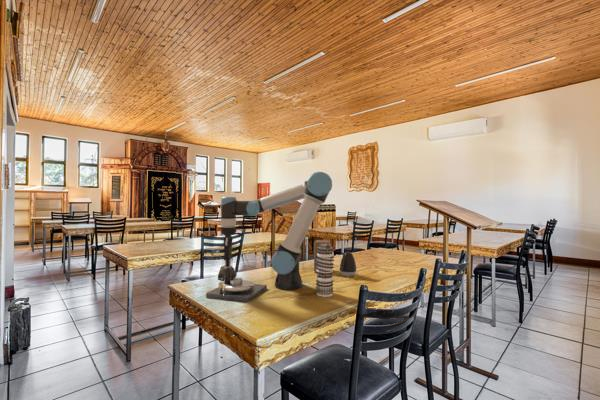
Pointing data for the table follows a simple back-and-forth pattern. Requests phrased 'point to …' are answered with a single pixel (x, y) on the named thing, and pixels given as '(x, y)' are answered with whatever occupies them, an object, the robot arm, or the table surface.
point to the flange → (235, 283)
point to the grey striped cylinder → (317, 249)
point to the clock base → (236, 293)
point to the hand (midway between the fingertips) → (227, 272)
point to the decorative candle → (324, 270)
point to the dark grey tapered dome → (348, 264)
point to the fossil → (221, 273)
